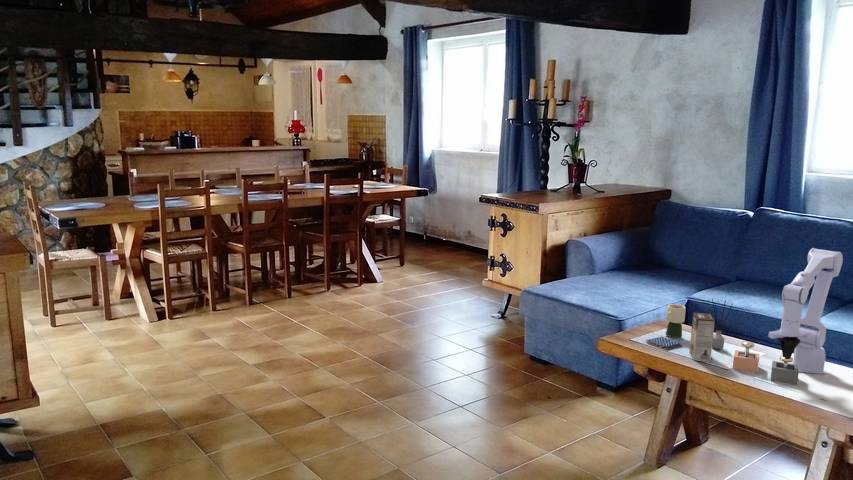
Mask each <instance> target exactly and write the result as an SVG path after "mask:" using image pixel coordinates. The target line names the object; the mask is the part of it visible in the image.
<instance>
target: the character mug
mask: <svg viewBox="0 0 853 480" xmlns="http://www.w3.org/2000/svg"><path fill="white" fill-rule="evenodd" d="M686 308H687V307H686V306H685V305H682V304H673V303H671V304H670V303H669V304H668V305H667V307H666V317H665V318H666V321H667V322H668V323H667V327H666V331H665V336H667V337H670V338H680V339H681V338H682V337H683V326H682V324H684V323H685V319H686Z"/></svg>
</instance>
